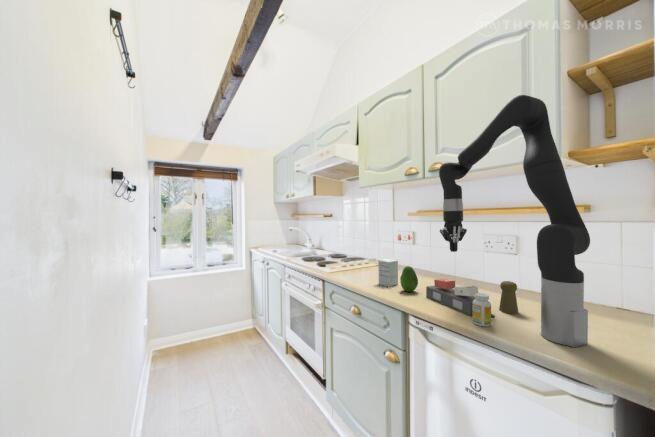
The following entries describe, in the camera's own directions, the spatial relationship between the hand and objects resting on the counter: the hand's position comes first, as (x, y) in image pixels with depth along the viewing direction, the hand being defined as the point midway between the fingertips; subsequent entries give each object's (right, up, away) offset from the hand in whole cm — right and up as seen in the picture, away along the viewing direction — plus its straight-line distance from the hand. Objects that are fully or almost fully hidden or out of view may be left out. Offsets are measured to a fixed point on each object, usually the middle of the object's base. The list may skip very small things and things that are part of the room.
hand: (453, 251), depth 111 cm
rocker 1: (-4, -15, 0) cm, 16 cm away
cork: (+14, -21, -13) cm, 28 cm away
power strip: (-1, -21, -7) cm, 22 cm away
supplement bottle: (-2, -21, -23) cm, 32 cm away
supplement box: (-21, -21, +27) cm, 40 cm away
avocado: (-15, -21, +13) cm, 29 cm away
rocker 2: (0, -15, -11) cm, 18 cm away
